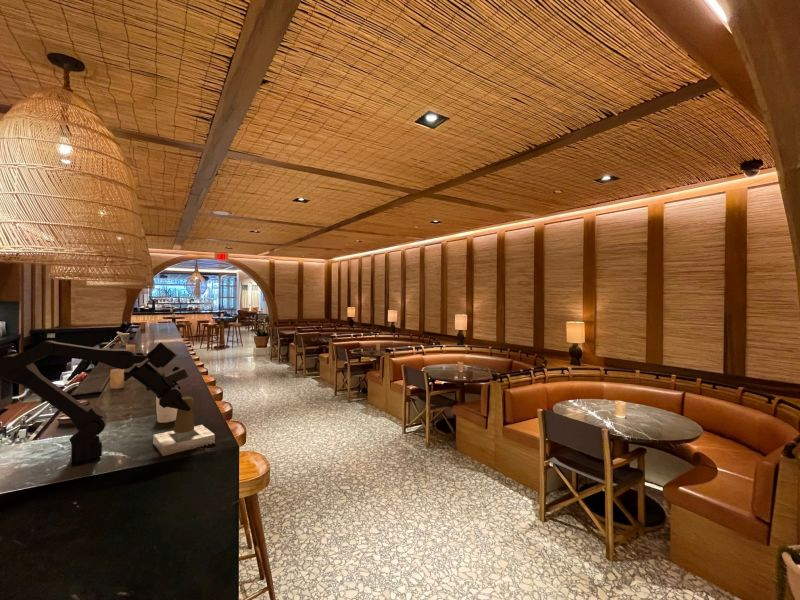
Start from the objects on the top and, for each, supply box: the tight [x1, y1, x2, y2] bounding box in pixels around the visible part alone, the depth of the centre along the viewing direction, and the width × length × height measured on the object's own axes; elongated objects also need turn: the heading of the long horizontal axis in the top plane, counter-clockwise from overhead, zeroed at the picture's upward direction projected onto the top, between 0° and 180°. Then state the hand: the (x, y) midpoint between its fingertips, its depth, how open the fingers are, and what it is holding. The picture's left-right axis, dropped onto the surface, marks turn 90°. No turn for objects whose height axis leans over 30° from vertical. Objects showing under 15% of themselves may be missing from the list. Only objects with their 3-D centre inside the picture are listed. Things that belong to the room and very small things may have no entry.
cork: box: [173, 396, 195, 433], centre depth 122 cm, size 6×6×11 cm
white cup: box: [155, 397, 177, 424], centre depth 147 cm, size 8×8×10 cm
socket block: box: [152, 424, 216, 457], centre depth 122 cm, size 15×14×3 cm
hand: (189, 408), depth 123 cm, fingers closed on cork, 5 cm apart
